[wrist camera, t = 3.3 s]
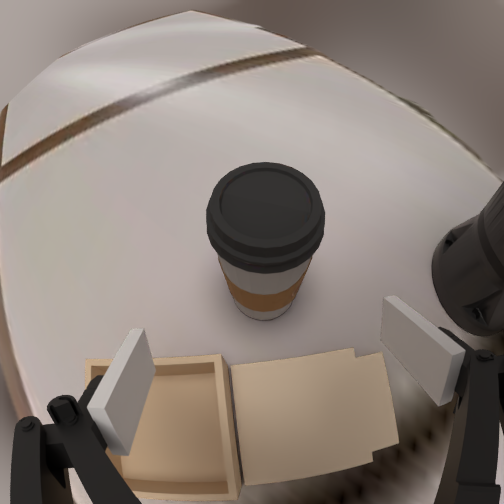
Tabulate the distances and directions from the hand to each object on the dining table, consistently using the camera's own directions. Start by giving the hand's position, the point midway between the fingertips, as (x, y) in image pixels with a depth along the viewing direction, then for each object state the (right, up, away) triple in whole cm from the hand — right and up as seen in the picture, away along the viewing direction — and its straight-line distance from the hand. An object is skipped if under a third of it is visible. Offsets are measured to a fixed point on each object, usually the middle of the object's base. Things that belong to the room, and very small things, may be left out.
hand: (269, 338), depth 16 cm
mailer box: (-1, -12, +10) cm, 15 cm away
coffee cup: (0, 0, +17) cm, 17 cm away
